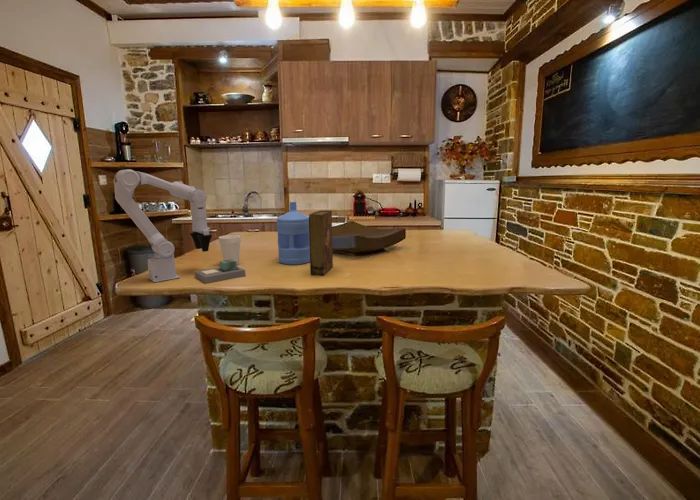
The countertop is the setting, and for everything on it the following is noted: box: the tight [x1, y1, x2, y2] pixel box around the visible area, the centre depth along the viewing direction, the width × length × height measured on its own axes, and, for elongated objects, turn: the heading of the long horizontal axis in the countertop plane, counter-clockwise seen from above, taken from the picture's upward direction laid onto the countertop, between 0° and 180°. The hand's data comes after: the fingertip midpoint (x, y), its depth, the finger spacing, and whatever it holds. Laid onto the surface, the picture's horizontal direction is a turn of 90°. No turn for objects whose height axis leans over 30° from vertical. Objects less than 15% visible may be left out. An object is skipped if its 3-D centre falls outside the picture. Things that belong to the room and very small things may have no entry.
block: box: [219, 259, 238, 272], centre depth 147 cm, size 5×5×6 cm
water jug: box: [276, 201, 310, 266], centre depth 168 cm, size 16×16×28 cm
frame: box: [194, 266, 246, 284], centre depth 146 cm, size 16×12×3 cm
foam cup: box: [218, 234, 242, 266], centre depth 165 cm, size 10×9×13 cm
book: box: [308, 210, 334, 276], centre depth 151 cm, size 16×6×25 cm, turn 168°
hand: (202, 250), depth 152 cm, fingers open, 7 cm apart
